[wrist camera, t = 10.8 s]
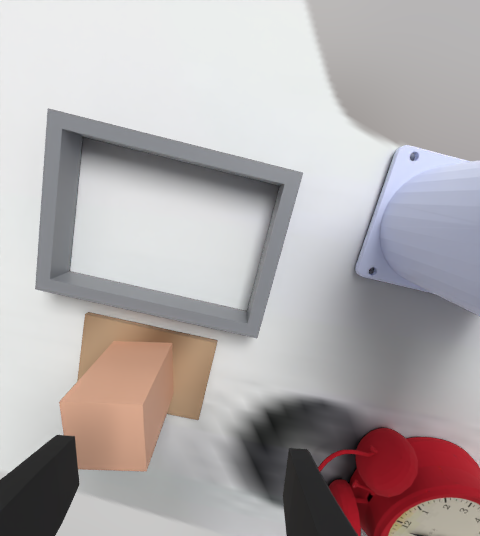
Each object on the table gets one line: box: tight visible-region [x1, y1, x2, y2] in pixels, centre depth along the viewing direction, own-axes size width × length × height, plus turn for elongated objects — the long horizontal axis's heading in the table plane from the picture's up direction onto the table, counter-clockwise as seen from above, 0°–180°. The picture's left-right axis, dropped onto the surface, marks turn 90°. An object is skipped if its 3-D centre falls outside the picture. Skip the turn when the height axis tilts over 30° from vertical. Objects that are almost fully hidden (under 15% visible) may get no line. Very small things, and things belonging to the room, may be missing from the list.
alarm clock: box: [318, 428, 480, 536], centre depth 21 cm, size 10×6×15 cm
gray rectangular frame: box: [35, 109, 303, 338], centre depth 17 cm, size 14×10×2 cm
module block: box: [59, 341, 174, 471], centre depth 17 cm, size 4×4×6 cm
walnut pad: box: [77, 312, 217, 420], centre depth 20 cm, size 9×6×1 cm
